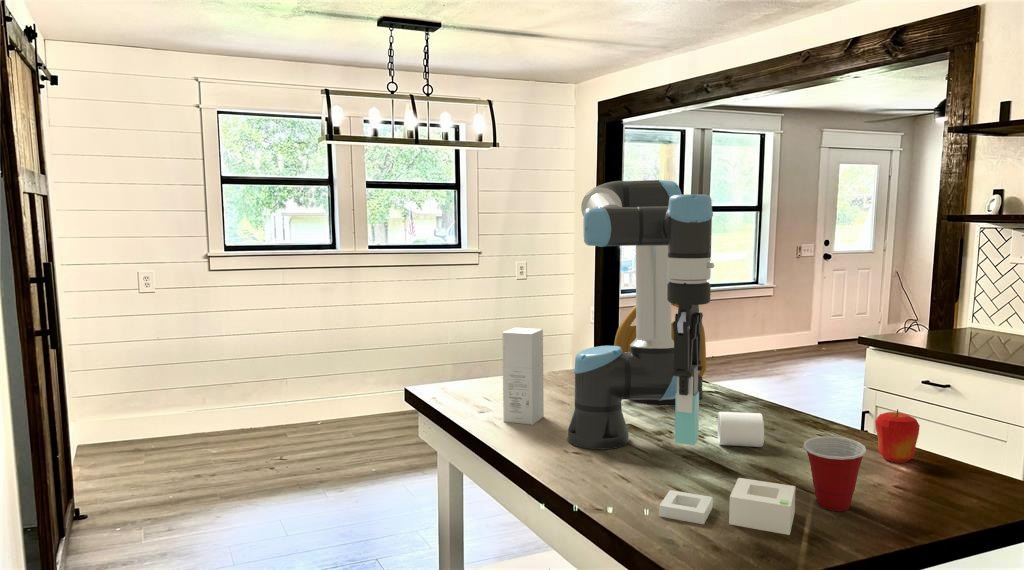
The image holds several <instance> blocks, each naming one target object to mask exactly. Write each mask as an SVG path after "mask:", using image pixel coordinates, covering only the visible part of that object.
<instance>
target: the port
mask: <svg viewBox="0 0 1024 570" xmlns="http://www.w3.org/2000/svg"><path fill="white" fill-rule="evenodd" d="M795 511H796V485H792V484H791V485H790V484H783V483H776V482H769V481H765V480H764V481H763V480H757V479H756V480H755V479H749V478H742V477H738V478H737V480H736V483H735V485H734V486H733V489H732V491H731V493H730V495H729V511H728V512H729V514H728V518H729V520H728V525H732V526H738V527H742V528H747V529H753V530H754V529H755V530H759V531H765V532H770V533H771V532H772V533H776V534H780V535H781V534H782V535H787V536H790V535H791V531H792V526H793V522H794V518H795V513H796V512H795Z"/></svg>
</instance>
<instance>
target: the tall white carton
mask: <svg viewBox="0 0 1024 570" xmlns="http://www.w3.org/2000/svg"><path fill="white" fill-rule="evenodd" d="M544 396H545V395H544V330H543V328H528V327H527V328H525V327H513V328H510V329H508V330H504V331H502V401H503V403H502V407H503V411H502V412H503V415H502V417H503V422H504V423H513V424H523V425H532V426H533V425H535V424H536V423H537V422H538V421H540V420H541V419H543V418H544V416H545V413H544V411H545V410H544V409H545V408H544V405H545V404H544V403H545V402H544V398H545V397H544Z"/></svg>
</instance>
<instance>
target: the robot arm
mask: <svg viewBox="0 0 1024 570" xmlns="http://www.w3.org/2000/svg"><path fill="white" fill-rule="evenodd" d="M712 205H713V203H712V197H711V196H710V195H708V194H703V193H702V194H692V193H691V194H682V191H681V189H680V186H679V184H678V183H677V182H675V181H673V180H661V179H653V180H652V179H651V180H615V181H609V182H605V183H603V184H599V185H596V186H595V187H593V188H592V189H590V190H589V191H588V192H587V193H586V194H585V195H584V197H583V199H582V201H581V213H582V214H581V215H582V217H583V225H582V227H583V232H582V233H583V242H584V243H585V245H586V246H590V247H591V246H592V247H600V248H603V247H620V246H621V247H622V246H624V247H625V246H626V247H628V246H629V247H630V246H635V306H636V318H635V322H636V323H635V326H636V339H635V340H634V341H633V342H632V343H631V344H630V352H622V349H621V347H619V346H614V345H600V346H599V345H598V346H593V347H589V348H585V349H582V350H580V351H579V352H578V353H577V354H576V355H575V357H574V369H573V373H574V410H573V413H572V416H571V420H570V422H569V425H568V429H567V441H568V442H569V443H571V445H574V446H576V447H579V448H585V449H592V450H609V449H617V448H620V447H624V446H626V445H627V444H628V443H629V441H630V440H629V434H630V433H629V430H628V429H629V428H628V426H627V423H626V421H625V417H624V414H623V411H622V408H623V407H622V400H627V401H630V400H644V399H655V400H659V401H660V400H666V399H675V397H676V393H677V411H678V412H687V413H692V412H693V376H692V365H700V364H701V361H700V360H701V326H702V324H703V317H704V314H703V312H700V308H699V307H700V306H701V305H707V304H709V303H710V302H711V293H712V292H711V284H710V282H708V280H710V279H711V275H712V274H711V273H712V272H711V270H712V269H714V268H715V264H714V262H711V260H712V259H711V258H712V233H713V232H712V230H713V227H712V225H713V224H712V223H713V216H714V212H713V206H712ZM671 303H673V304H678V305H679V308H678V307H677V313H675V316H674V321H672V305H671ZM699 305H700V306H699ZM671 322H673V330H674V341H673V340H672V338H671ZM702 369H703V366H698V371H702ZM697 392H698V391H697Z"/></svg>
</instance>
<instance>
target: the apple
mask: <svg viewBox="0 0 1024 570" xmlns="http://www.w3.org/2000/svg"><path fill="white" fill-rule="evenodd" d="M874 423H875V431H876V436H877V440H878V441H877V443H878V444H877V446H878V447H877V448H878V452H879V453H880V455H881V456H882V458H883V459H884V460H885V461H889V462H891V463H894V464H897V463H898V464H904V463H906V462H907V463H908V461H910V460H911V459H913V458H914V457H915V452H916V446H917V442H918V439H919V434H920V427H921V426H920V424H919V422H918V420H917V419H916V418H915V417H913V416H911V415H908V414H905V413H902V412H899V408H897V409H896V411H887V412H883V413H880V414H879V415H878V416H877V418H875V422H874Z"/></svg>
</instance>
